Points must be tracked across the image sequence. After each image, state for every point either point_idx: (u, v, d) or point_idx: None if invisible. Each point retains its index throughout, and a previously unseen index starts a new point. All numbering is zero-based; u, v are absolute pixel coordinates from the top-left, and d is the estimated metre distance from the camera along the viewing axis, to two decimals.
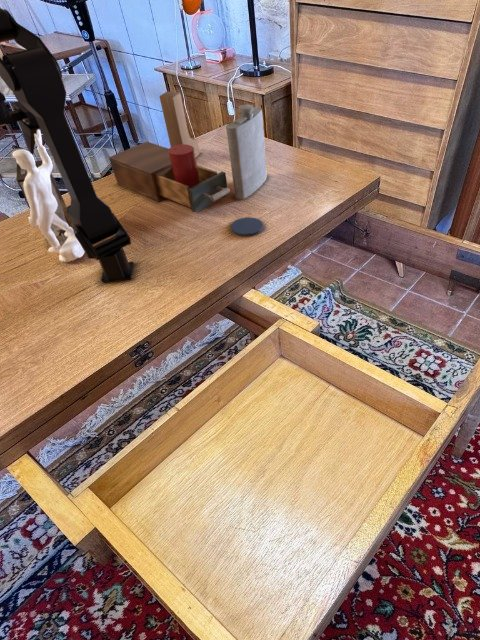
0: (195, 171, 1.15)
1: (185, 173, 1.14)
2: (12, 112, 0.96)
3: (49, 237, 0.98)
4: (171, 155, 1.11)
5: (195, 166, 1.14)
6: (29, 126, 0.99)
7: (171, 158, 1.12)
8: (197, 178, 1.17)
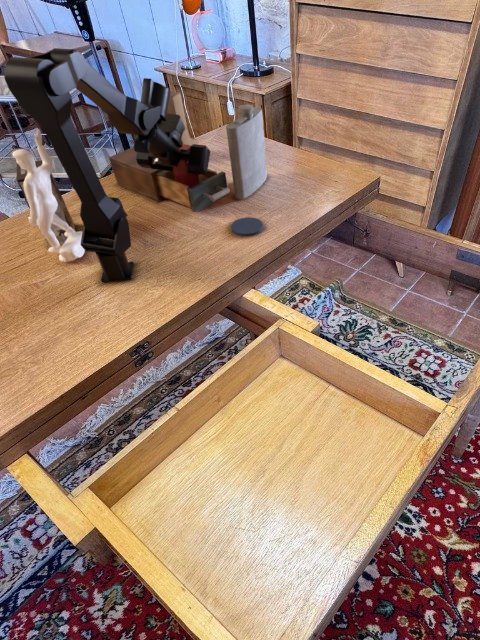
0: None
1: (185, 173, 1.14)
2: (184, 155, 1.07)
3: (49, 237, 0.98)
4: None
5: None
6: None
7: None
8: (197, 178, 1.17)
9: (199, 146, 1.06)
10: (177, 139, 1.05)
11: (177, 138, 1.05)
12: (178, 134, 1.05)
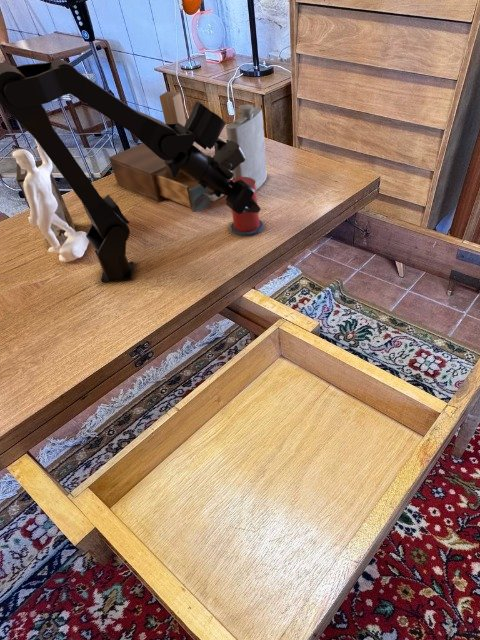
0: None
1: None
2: (228, 188, 0.97)
3: (49, 237, 0.98)
4: None
5: None
6: None
7: None
8: (251, 216, 1.06)
9: (242, 184, 0.94)
10: (224, 170, 0.95)
11: (225, 169, 0.95)
12: (229, 165, 0.95)
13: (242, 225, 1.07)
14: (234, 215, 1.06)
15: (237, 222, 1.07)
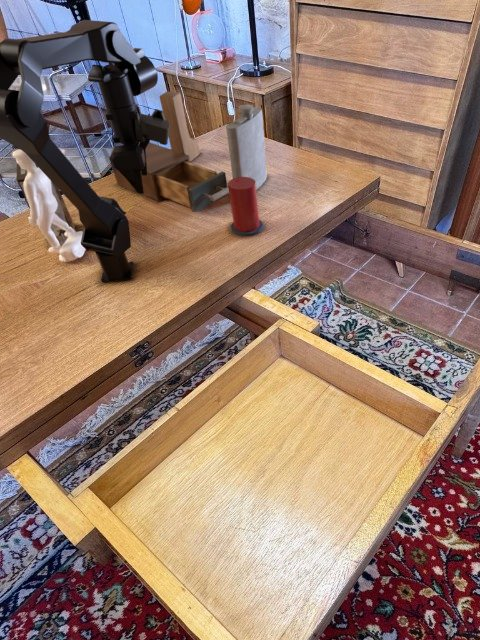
0: (249, 209, 1.04)
1: (236, 208, 1.04)
2: (127, 144, 0.89)
3: (49, 237, 0.98)
4: (228, 186, 1.03)
5: (250, 204, 1.04)
6: None
7: None
8: (251, 216, 1.06)
9: (137, 149, 0.87)
10: (137, 128, 0.88)
11: (138, 128, 0.88)
12: (145, 130, 0.89)
13: (242, 225, 1.07)
14: (234, 215, 1.06)
15: (237, 222, 1.07)
